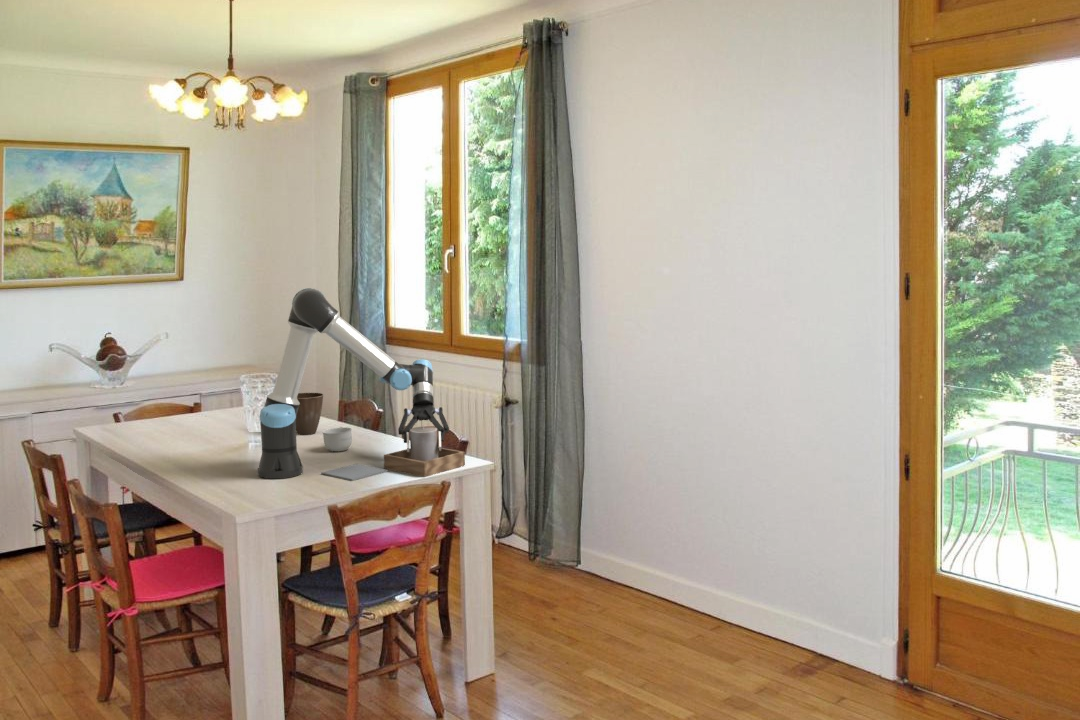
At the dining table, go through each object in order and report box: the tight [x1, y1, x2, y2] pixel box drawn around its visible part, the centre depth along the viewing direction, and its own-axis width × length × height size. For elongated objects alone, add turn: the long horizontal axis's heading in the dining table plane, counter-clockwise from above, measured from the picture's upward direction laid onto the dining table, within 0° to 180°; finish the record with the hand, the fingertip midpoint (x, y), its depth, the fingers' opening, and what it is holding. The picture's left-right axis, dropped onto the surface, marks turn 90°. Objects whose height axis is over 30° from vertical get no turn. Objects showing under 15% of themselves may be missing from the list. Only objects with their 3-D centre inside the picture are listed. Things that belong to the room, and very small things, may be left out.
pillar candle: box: [409, 425, 439, 462], centre depth 349 cm, size 10×10×15 cm
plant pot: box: [295, 392, 324, 436], centre depth 412 cm, size 15×15×16 cm
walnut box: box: [383, 446, 466, 478], centre depth 350 cm, size 20×20×5 cm
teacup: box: [322, 426, 353, 452], centre depth 381 cm, size 14×11×8 cm
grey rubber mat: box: [321, 463, 389, 482], centre depth 344 cm, size 16×16×1 cm
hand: (424, 449), depth 347 cm, fingers open, 10 cm apart
